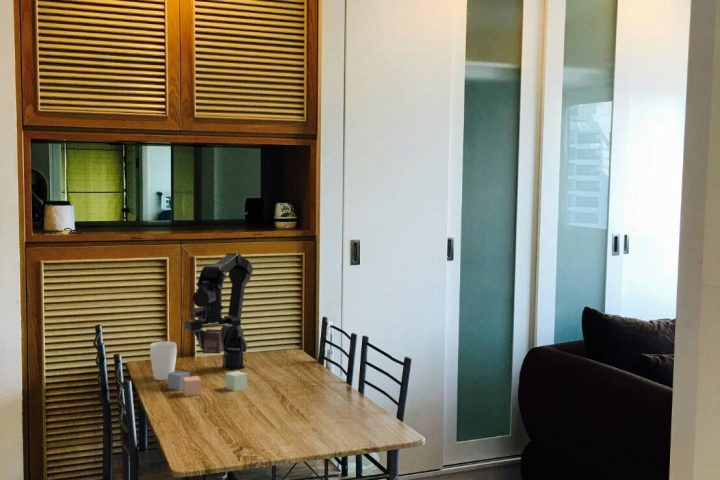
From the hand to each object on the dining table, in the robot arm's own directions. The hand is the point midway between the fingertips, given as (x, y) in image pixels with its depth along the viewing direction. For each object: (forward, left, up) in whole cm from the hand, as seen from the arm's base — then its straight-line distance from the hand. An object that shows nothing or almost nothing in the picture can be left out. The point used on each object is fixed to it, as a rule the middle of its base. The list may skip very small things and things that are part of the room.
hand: (213, 347), depth 275 cm
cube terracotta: (+13, +11, -12) cm, 21 cm away
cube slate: (+13, +2, -12) cm, 18 cm away
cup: (+13, -12, -12) cm, 21 cm away
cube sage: (-2, +13, -12) cm, 18 cm away
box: (0, 0, -2) cm, 2 cm away
